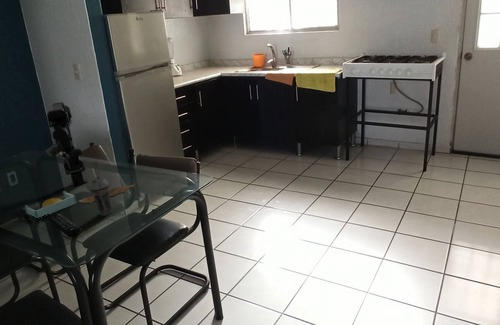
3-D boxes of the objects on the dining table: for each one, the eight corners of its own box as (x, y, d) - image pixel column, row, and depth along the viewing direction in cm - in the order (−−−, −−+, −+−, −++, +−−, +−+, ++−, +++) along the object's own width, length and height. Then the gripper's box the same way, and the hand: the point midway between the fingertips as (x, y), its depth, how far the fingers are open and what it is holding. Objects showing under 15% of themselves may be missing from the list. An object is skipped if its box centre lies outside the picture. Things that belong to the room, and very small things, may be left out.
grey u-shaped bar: (27, 214, 176) (24, 205, 175) (67, 198, 188) (64, 190, 187) (36, 219, 169) (33, 210, 168) (77, 203, 182) (74, 194, 180)
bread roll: (53, 202, 186) (51, 194, 184) (67, 204, 182) (65, 196, 181) (38, 210, 179) (35, 202, 178) (52, 212, 175) (49, 204, 174)
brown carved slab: (80, 206, 178) (80, 204, 177) (76, 199, 187) (76, 197, 186) (138, 189, 190) (138, 187, 189) (131, 183, 199) (131, 181, 198)
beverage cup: (118, 209, 169) (107, 164, 163) (107, 217, 163) (95, 170, 156) (104, 208, 172) (93, 164, 165) (93, 216, 165) (80, 170, 159)
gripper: (36, 139, 187) (46, 171, 192) (53, 143, 174) (63, 177, 179) (60, 133, 194) (69, 163, 199) (78, 136, 182) (87, 169, 187)
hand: (71, 168), depth 191 cm, fingers closed
